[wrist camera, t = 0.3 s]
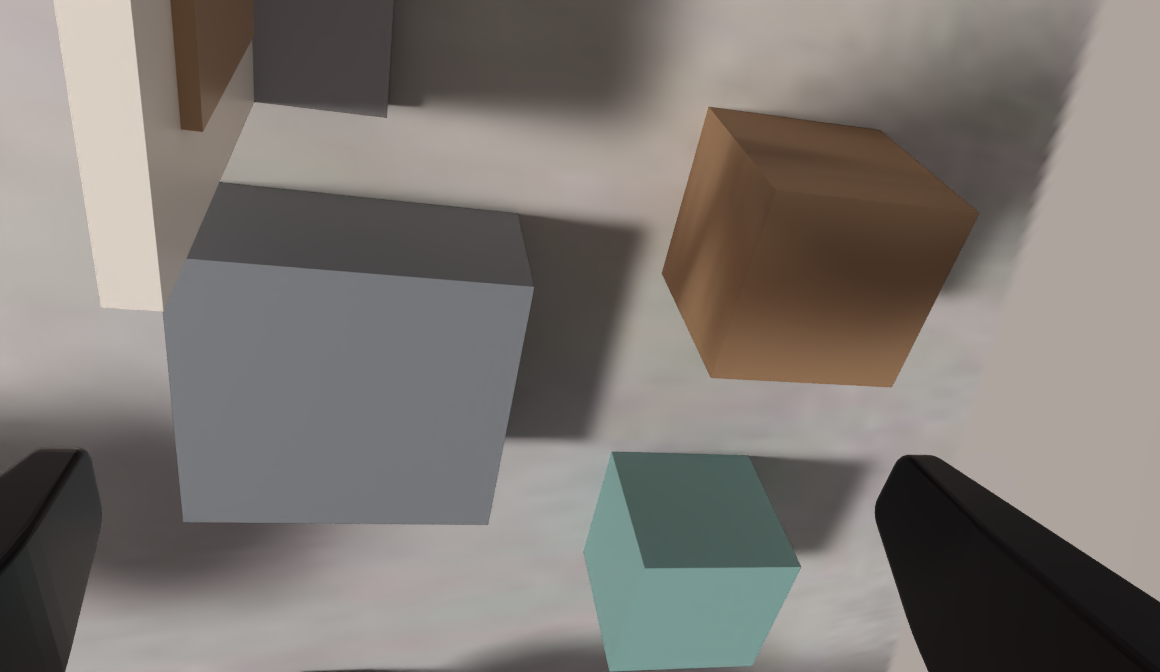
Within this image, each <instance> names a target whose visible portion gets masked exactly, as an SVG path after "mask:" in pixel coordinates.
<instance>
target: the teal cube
mask: <svg viewBox="0 0 1160 672" xmlns="http://www.w3.org/2000/svg"><path fill="white" fill-rule="evenodd" d="M584 556H585V561H586V565H587V570H588V575H589V579H590V584H591V589H592V593H593V598H594V603H595V607H596V612H597V617H598V621H599V626H600V631H601V635H602V640H603V645H604V649H605V654H606V659H607V663H608V668H609V672H610V671H635V670H661V669H686V668H711V667H737V666H752V665H753V663H754V661H755V659H756V657H757V655H758V653H759V651H760V649H761V647H762V645H763V643H764V641H765V639H766V637H767V635H768V633H769V631H770V629H771V627H772V625H773V623H774V621H775V619H776V617H777V615H778V613H779V611H780V609H781V607H782V605H783V603H784V601H785V599H786V597H787V595H788V593H789V591H790V589H791V587H792V585H793V583H794V581H795V579H796V577H797V575H798V573H799V571H800V569H801V565H800V563H799V561H798V559H797V557H796V555H795V553H794V551H793V548H792V546H791V544H790V542H789V540H788V538H787V536H786V534H785V532H784V530H783V527H782V525H781V523H780V521H779V519H778V517H777V515H776V513H775V511H774V508H773V506H772V504H771V502H770V500H769V498H768V496H767V494H766V492H765V489H764V487H763V485H762V483H761V481H760V479H759V477H758V475H757V473H756V470H755V468H754V466H753V464H752V462H751V460H750V458H749V456H748V455H712V454H676V453H640V452H611V456H610V459H609V463H608V466H607V470H606V474H605V477H604V481H603V484H602V488H601V491H600V495H599V499H598V502H597V506H596V509H595V513H594V516H593V520H592V523H591V527H590V531H589V534H588V538H587V541H586V545H585V548H584Z"/></svg>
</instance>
